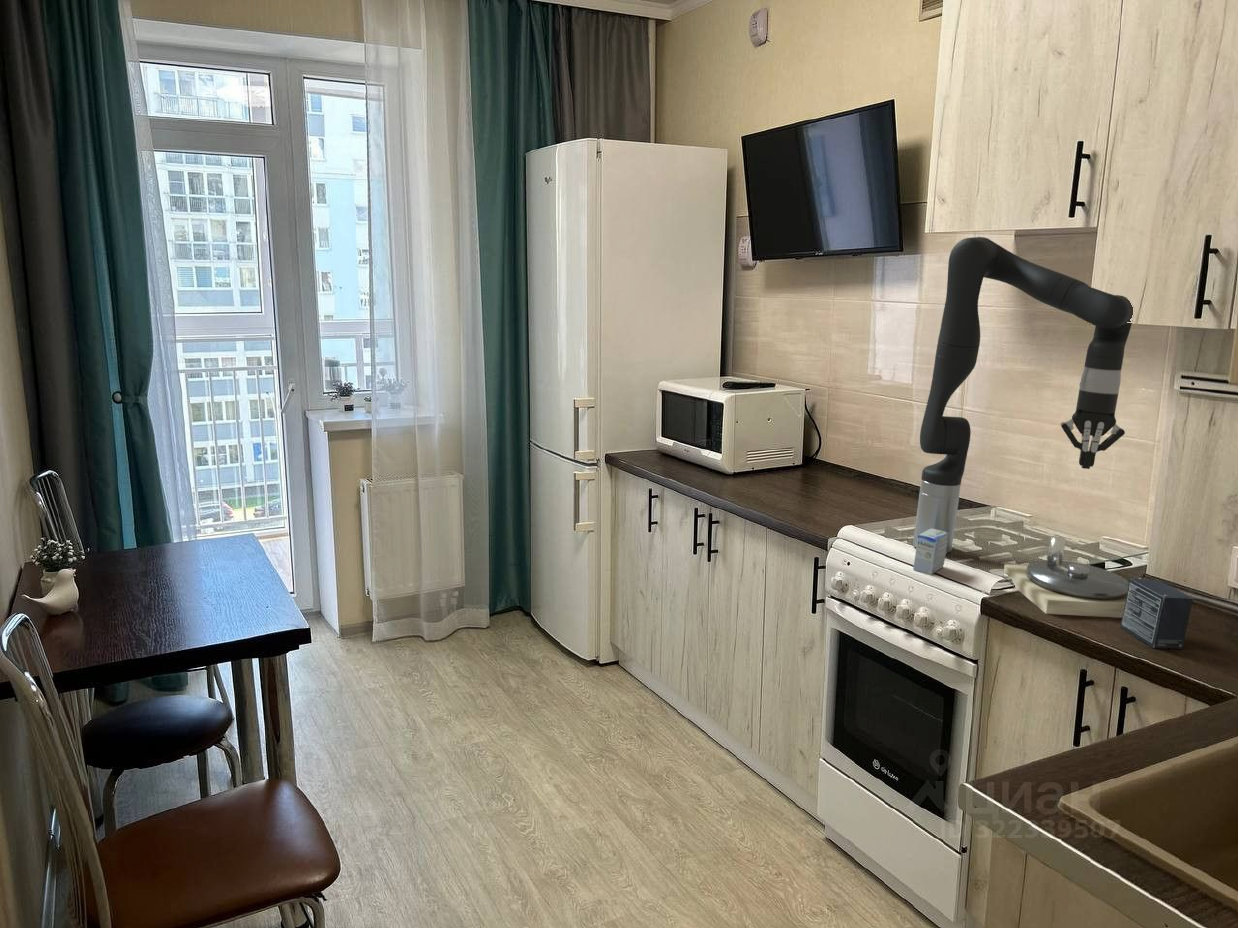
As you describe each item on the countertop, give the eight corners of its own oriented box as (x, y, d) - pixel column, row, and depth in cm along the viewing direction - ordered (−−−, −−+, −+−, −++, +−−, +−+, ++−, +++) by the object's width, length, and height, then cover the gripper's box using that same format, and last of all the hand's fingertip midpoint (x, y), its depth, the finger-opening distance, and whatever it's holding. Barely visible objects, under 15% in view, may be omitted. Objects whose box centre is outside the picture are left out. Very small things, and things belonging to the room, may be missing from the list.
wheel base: (1002, 576, 207) (1004, 564, 207) (1098, 582, 207) (1100, 569, 207) (1045, 613, 186) (1048, 600, 185) (1152, 619, 186) (1155, 605, 185)
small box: (1185, 650, 171) (1196, 597, 169) (1153, 649, 171) (1163, 597, 168) (1149, 627, 182) (1159, 578, 179) (1118, 627, 181) (1127, 577, 179)
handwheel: (1151, 597, 189) (1157, 563, 187) (1068, 600, 184) (1074, 565, 182) (1083, 565, 208) (1089, 534, 206) (1006, 567, 203) (1011, 535, 201)
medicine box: (925, 562, 215) (930, 527, 213) (944, 567, 212) (949, 532, 210) (912, 570, 209) (917, 534, 207) (931, 575, 206) (936, 539, 204)
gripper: (1066, 388, 193) (1053, 467, 197) (1136, 394, 189) (1122, 475, 193) (1063, 384, 200) (1050, 461, 204) (1130, 390, 196) (1116, 468, 200)
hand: (1085, 467), depth 198 cm, fingers closed
